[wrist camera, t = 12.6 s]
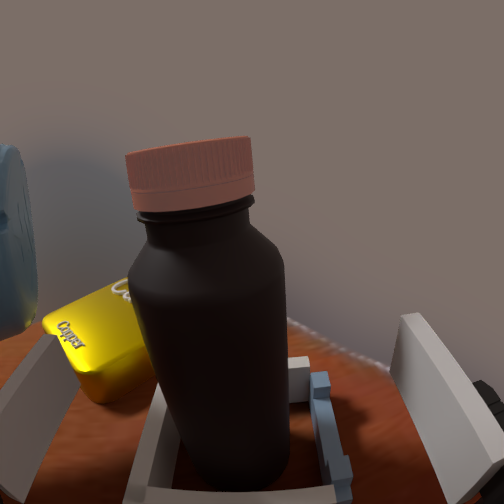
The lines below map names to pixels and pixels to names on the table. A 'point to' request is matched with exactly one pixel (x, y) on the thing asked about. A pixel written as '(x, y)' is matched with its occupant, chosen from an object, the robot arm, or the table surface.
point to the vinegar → (212, 309)
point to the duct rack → (297, 500)
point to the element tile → (103, 342)
